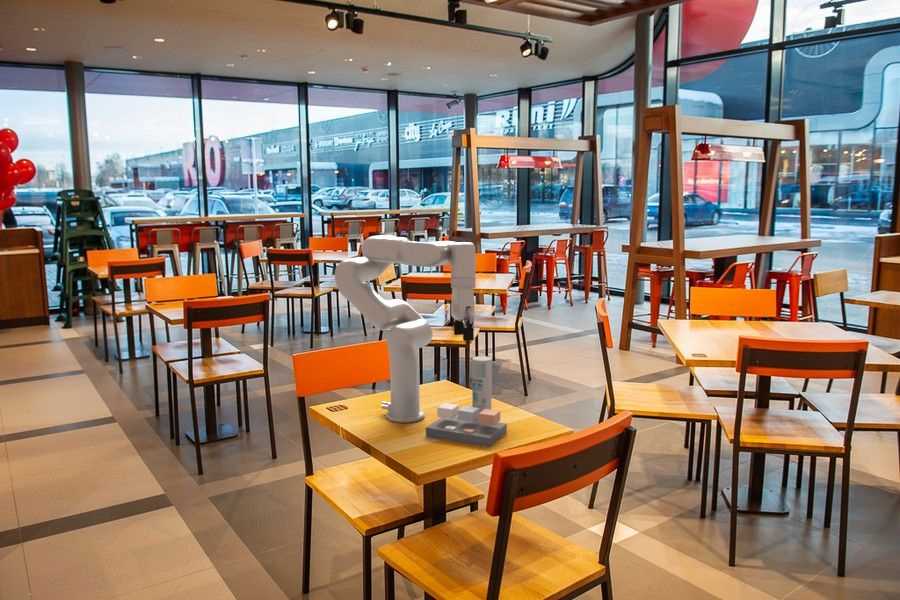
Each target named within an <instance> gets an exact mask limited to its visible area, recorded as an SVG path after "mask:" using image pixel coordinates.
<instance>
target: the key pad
mask: <svg viewBox="0 0 900 600" xmlns="http://www.w3.org/2000/svg"><path fill="white" fill-rule="evenodd" d="M507 430H508V424H507V422H506V423H505V422H500V421H499V422H498V423H496V424H495V425H490V424H483V423H479V419H476V420H475V421H473V422H470V421H463V420H458V415H457V416H455V417H454V418H452V419H450V418H443V417H439V418H438V419H437V420H435V421H434V422H432V423H431V424H429V425H427V426H425V438H430V439H435V440H442V441H448V442H453V443H461V444H466V445H471V446H472V445H473V446H478V447H483V446H486V447H485V448H489V447H490V446H491V445H492V446H493V445H494V444H495V443H497V442H499V440H500V439H501V438H503V437H504V436H505V435H506V434H507ZM496 441H497V442H496ZM492 446H491V447H492ZM491 447H490V448H491Z"/></svg>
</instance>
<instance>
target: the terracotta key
mask: <svg viewBox="0 0 900 600" xmlns="http://www.w3.org/2000/svg"><path fill="white" fill-rule="evenodd" d="M500 421H501V410H496V409H491V410H490V409H484V410H483V411H481V412H480V413H479V423H483V424H490V425H495V424H496V423H498V422H500Z"/></svg>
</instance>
